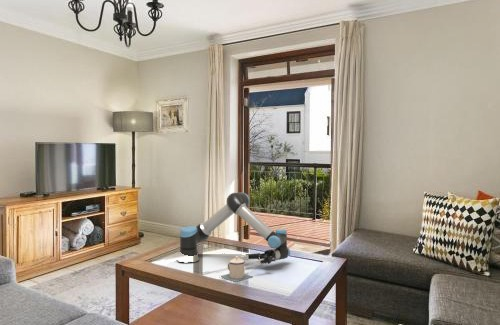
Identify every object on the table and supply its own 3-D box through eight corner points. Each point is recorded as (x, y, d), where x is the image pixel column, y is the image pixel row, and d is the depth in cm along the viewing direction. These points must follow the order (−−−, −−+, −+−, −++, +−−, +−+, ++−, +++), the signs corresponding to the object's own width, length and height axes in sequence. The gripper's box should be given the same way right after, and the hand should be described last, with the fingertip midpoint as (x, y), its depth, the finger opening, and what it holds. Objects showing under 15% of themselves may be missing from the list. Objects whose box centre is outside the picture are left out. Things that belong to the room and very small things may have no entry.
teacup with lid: (248, 276, 178) (248, 256, 179) (237, 280, 171) (237, 259, 172) (233, 273, 186) (233, 253, 187) (222, 276, 179) (222, 255, 180)
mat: (218, 277, 179) (218, 276, 179) (237, 272, 189) (237, 271, 189) (234, 282, 169) (234, 281, 169) (253, 277, 179) (253, 276, 179)
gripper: (286, 264, 192) (263, 271, 177) (258, 258, 210) (234, 263, 195) (286, 252, 192) (263, 257, 178) (257, 246, 210) (234, 251, 195)
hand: (248, 260), depth 186 cm, fingers open, 13 cm apart
